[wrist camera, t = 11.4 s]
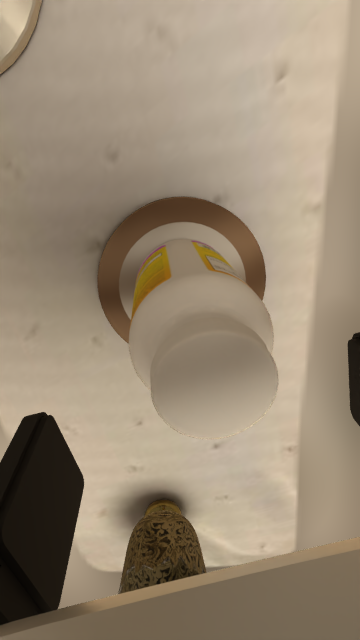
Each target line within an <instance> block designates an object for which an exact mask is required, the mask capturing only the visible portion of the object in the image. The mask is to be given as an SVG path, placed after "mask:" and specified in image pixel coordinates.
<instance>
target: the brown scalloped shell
mask: <svg viewBox="0 0 360 640" xmlns="http://www.w3.org/2000/svg"><path fill="white" fill-rule="evenodd" d="M204 573H206V569H205V564H204V560H203V556H202V552H201V548H200V544H199V541H198V537H197V535H196V532H195V530H194V528H193V526H192V525H191V523H190V522H189V521H188V520H187V519H186V518H185V517H184V516H182V515H181V511H180V509H179V507H178V506H177V505H176V504H175V503H174V502H172V501H170V500H157V501H155V502H153V503H151V504H150V505H149V507H148V508H147V510H146V512H145V515H144V518H143V519H141V520H140V521H139V522H138V524H137V525H136V526H135V528H134V530H133V532H132V534H131V537H130V540H129V543H128V547H127V552H126V557H125V562H124V567H123V573H122V578H121V584H120V589H119V593H118V594H121V593H125V592H130V591H134V590H138V589H142V588H146V587H150V586H154V585H158V584H162V583H166V582H170V581H175V580H179V579H183V578H187V577H191V576H195V575H200V574H204Z"/></svg>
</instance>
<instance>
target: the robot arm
mask: <svg viewBox="0 0 360 640" xmlns="http://www.w3.org/2000/svg"><path fill="white" fill-rule="evenodd" d="M41 3H42V0H0V74H1V73H3V72H4V71H5V70H6V69H7V68H9V67H10V66H11V65H12V64H13V63H14V62H15V61H16V59H17V58H18V57H19V55H20V54H21V53H22V51H23V50H24V49H25V47H26V46H27V44H28V41H29V39H30V37H31V35H32V33H33V30H34V28H35V26H36V23H37V19H38V15H39V11H40V7H41ZM348 362H349V363H348V364H349V388H350V410H351V413H352V416H353V418H354V420H355V421H356V422H357V423H358V425H359V426H360V332H359V333H355V334H354V335H353V337H352V339H351V340H349V341H348ZM83 489H84V479H83V475H82V473H81V471H80V469H79V467H78V465H77V463H76V461H75V459H74V457H73V455H72V453H71V451H70V449H69V447H68V445H67V443H66V441H65V439H64V437H63V435H62V433H61V431H60V429H59V427H58V425H57V423H56V421H55V419H54V418H53V416H52V415H47V414H46V413H45V412H41V413H37V414H33V415H29V416H26V417H24V418H23V419H22V421H21V423H20V425H19V427H18V429H17V431H16V433H15V435H14V437H13V439H12V441H11V443H10V445H9V447H8V448H7V450H6V452H5V454H4V456H3V458H2V460H1V462H0V640H360V537H356V538H352V539H348V540H343V541H340V542H335V543H330V544H326V545H322V546H318V547H313V548H309V549H305V550H300V551H296V552H292V553H288V554H284V555H279V556H275V557H271V558H267V559H262V560H258V561H254V562H250V563H246V564H241V565H237V566H233V567H229V568H225V569H221V570H216V571H212V572H208V573H204V574H200V575H195V576H191V577H187V578H183V579H179V580H175V581H170V582H166V583H162V584H158V585H154V586H150V587H146V588H142V589H138V590H134V591H130V592H125V593H121V594H117V595H113V596H109V597H105V598H101V599H97V600H93V601H89V602H85V603H81V604H77V605H73V606H69V607H66V608H61V609H58V606H59V603H60V599H61V594H62V589H63V585H64V580H65V575H66V570H67V565H68V561H69V556H70V550H71V546H72V541H73V537H74V532H75V527H76V522H77V517H78V513H79V508H80V503H81V498H82V493H83ZM57 609H58V610H57Z"/></svg>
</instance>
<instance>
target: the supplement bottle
mask: <svg viewBox="0 0 360 640" xmlns="http://www.w3.org/2000/svg"><path fill="white" fill-rule="evenodd" d="M272 349H273V326H272V322H271V318H270V315H269V313H268V311H267V309H266V307H265V305H264V303H263V302H262V301H261V299H260V298H259V297H258V296H257V294H256V293H255V292H254V291H253V290H252V289H251V288H250V287H249V285H248V284H247V283H246V282H245V281H244V280H243V279H242V278H241V277H240V275H239V274H238V273H237V272H236V271H235V270H234V269H233V268H232V267H231V265H230V264H229V263H228V262H227V261H226V260H225V259H224V257H223V256H222V255H221V254H220V253H219V252H217V251H216V250H215V249H214V248H212V247H211V246H209V245H207V244H205V243H203V242H200V241H197V240H192V239H177V240H173V241H169V242H167V243H164V244H162V245H160V246H159V247H157V248H156V249H154V250H153V251H152V252H151V253H150V254H149V255H148V256H147V257H146V258H145V260H144V261H143V263H142V265H141V267H140V269H139V271H138V274H137V278H136V284H135V292H134V299H133V308H132V316H131V324H130V331H129V351H130V356H131V360H132V363H133V366H134V369H135V371H136V373H137V375H138V376H139V378H140V379H141V380H142V382H143V383H144V384H145V385H146V386H147V387H148V388H149V389H150V390H151V397H152V401H153V404H154V406H155V408H156V411H157V412H158V414H159V415H160V417H161V418H162V419H163V420H164V421H165V423H166V424H167V425H169V426H170V427H171V428H173V429H174V430H176V431H177V432H179V433H181V434H184V435H187V436H190V437H194V438H200V439H219V438H225V437H229V436H233V435H235V434H237V433H240V432H242V431H244V430H246V429H248V428H249V427H251V426H252V425H254V424H255V423H256V422H258V421H259V420H260V419H261V418H262V417H263V416H264V415H265V413H266V412H267V411H268V409H269V408H270V406H271V405H272V403H273V401H274V399H275V396H276V392H277V388H278V371H277V367H276V364H275V362H274V359H273V357H272V356H271V353H272Z"/></svg>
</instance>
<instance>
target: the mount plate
mask: <svg viewBox="0 0 360 640" xmlns="http://www.w3.org/2000/svg"><path fill="white" fill-rule="evenodd" d="M177 239H192V240H197V241H200V242H203V243H205V244H207V245H209V246H211V247H212V248H214V249H215V250H216V251H217V252H219V253H220V254H221V255H222V256H223V257H224V259H225V260H226V261H227V262H228V263H229V264H230V265H231V267H232V268H233V269H234V270H235V271H236V272H237V273H238V274H239V275H240V277H241V278H242V279H243V280H244V281H245V282H246V283H247V284H248V285H249V287H250V288H251V289H252V290H253V291H254V292H255V293H256V294H257V296H258V297H259V298H260V299H261V301H262V300H263V296H264V291H265V282H266V273H265V264H264V259H263V255H262V252H261V250H260V247H259V245H258V243H257V241H256V239H255V237H254V235H253V234H252V233H251V231H250V230H249V229H248V227H247V226H246V225H245V224H244V223H243V222H242V221H241V220H240V219H239V218H238V217H236V216H235V215H234V214H232V213H231V212H230V211H228V210H226V209H224V208H223V207H221V206H219V205H216V204H214V203H211V202H209V201H206V200H202V199H198V198H191V197H172V198H166V199H161V200H158V201H155V202H152V203H149V204H147V205H145V206H143V207H141V208H140V209H138V210H137V211H135V212H134V213H132V214H131V215H130V216H129V217H128V218H126V219H125V220H124V221H123V222H122V223H121V225H120V226H119V227H118V228H117V229H116V231H115V232H114V233H113V235H112V236H111V238H110V239H109V241H108V243H107V244H106V247H105V249H104V251H103V254H102V257H101V260H100V264H99V270H98V292H99V298H100V302H101V305H102V308H103V311H104V313H105V315H106V317H107V319H108V321H109V322H110V324H111V326H112V327H113V328H114V330H115V331H116V332H117V333H118V334H119V335H120V336H121V337H122V338H123V339H124V340H125V341H126V342H127V343H129V331H130V324H131V316H132V308H133V299H134V292H135V284H136V278H137V274H138V271H139V269H140V267H141V265H142V263H143V261H144V260H145V258H146V257H147V256H148V255H149V254H150V253H151V252H152V251H153V250H154V249H156V248H157V247H159V246H160V245H162V244H164V243H167V242H169V241H173V240H177Z"/></svg>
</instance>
